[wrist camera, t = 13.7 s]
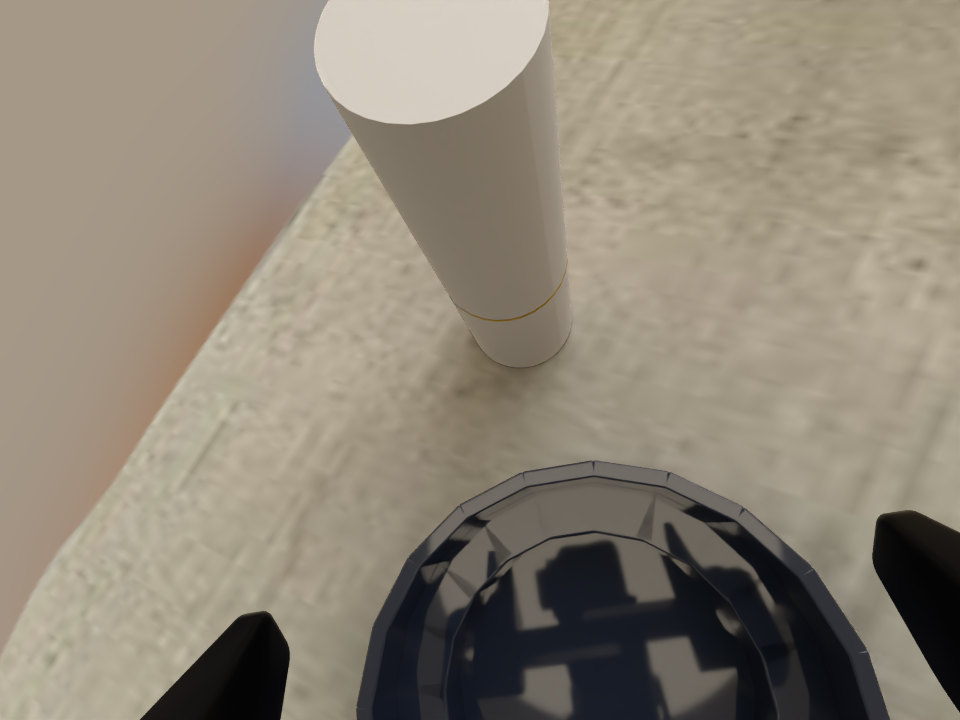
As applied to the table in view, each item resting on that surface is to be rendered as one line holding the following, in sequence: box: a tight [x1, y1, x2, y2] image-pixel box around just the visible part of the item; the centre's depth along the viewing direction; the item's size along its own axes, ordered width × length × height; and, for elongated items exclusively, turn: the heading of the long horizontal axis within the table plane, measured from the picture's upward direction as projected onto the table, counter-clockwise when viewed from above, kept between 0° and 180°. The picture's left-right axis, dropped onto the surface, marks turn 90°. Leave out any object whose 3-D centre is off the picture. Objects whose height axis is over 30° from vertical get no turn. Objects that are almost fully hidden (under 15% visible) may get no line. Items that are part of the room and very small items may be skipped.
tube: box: [314, 0, 572, 368], centre depth 17 cm, size 4×4×15 cm
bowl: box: [356, 461, 890, 720], centre depth 17 cm, size 14×14×5 cm
